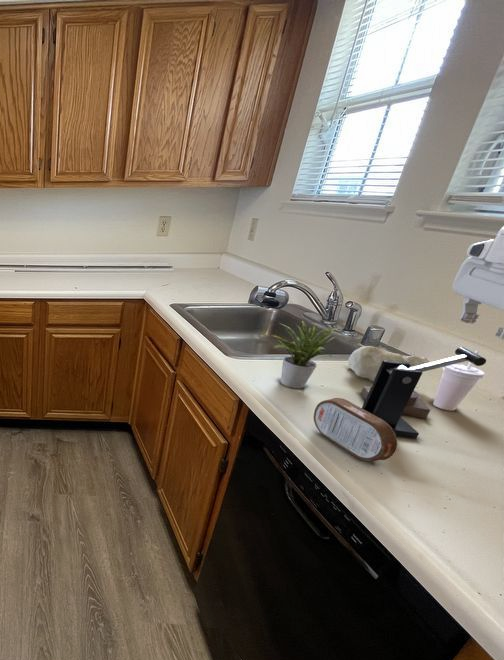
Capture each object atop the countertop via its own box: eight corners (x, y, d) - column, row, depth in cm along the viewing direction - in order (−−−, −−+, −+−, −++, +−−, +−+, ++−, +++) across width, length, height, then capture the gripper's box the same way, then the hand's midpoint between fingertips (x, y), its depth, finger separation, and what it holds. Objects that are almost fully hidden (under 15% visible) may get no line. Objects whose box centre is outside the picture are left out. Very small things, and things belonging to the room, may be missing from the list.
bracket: (395, 418, 92) (423, 361, 86) (416, 438, 85) (448, 378, 79) (337, 411, 94) (360, 355, 88) (353, 430, 87) (380, 370, 81)
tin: (387, 469, 76) (407, 430, 72) (373, 471, 75) (392, 432, 71) (317, 425, 89) (331, 390, 85) (305, 426, 88) (318, 391, 85)
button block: (412, 402, 98) (420, 387, 97) (426, 418, 92) (434, 402, 90) (360, 393, 102) (366, 379, 100) (369, 408, 96) (376, 393, 94)
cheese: (326, 376, 115) (373, 362, 101) (332, 353, 117) (380, 336, 102) (381, 398, 114) (437, 387, 99) (387, 374, 115) (442, 360, 101)
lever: (466, 354, 82) (465, 344, 81) (487, 366, 77) (485, 354, 77) (384, 375, 88) (381, 365, 87) (398, 387, 83) (396, 377, 82)
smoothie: (469, 415, 93) (503, 358, 87) (433, 410, 95) (464, 354, 89) (453, 402, 99) (483, 347, 92) (419, 397, 100) (447, 343, 94)
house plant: (292, 368, 115) (311, 311, 108) (341, 390, 103) (366, 328, 96) (250, 373, 112) (267, 315, 105) (295, 398, 100) (318, 334, 93)
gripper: (610, 266, 62) (554, 352, 68) (503, 246, 79) (467, 315, 85) (556, 263, 63) (506, 348, 69) (463, 244, 81) (430, 312, 87)
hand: (484, 330), depth 77 cm, fingers open, 8 cm apart
